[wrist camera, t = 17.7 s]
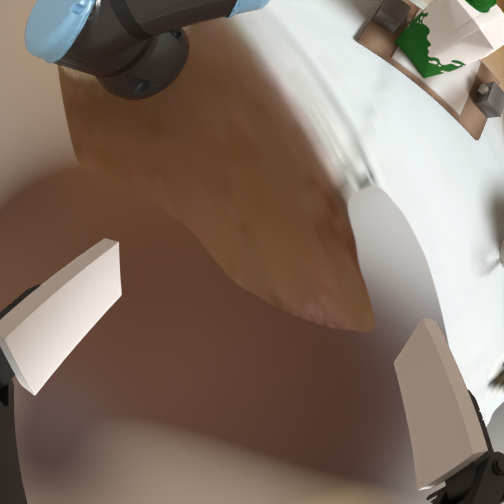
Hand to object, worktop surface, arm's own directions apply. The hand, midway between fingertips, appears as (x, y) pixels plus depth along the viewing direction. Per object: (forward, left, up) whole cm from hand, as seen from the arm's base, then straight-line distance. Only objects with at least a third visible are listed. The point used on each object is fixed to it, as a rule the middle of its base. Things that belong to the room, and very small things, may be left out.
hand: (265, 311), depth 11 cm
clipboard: (+10, +36, -30) cm, 48 cm away
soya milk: (+7, +34, -29) cm, 45 cm away
